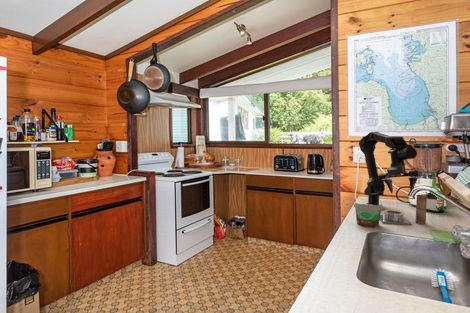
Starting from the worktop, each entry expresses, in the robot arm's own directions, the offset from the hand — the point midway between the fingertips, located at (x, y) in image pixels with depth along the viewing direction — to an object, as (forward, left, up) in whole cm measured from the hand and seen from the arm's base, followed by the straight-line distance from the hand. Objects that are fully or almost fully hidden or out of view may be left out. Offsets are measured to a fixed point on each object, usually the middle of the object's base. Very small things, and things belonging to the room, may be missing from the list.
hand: (401, 192), depth 151 cm
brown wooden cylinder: (+9, +6, -12) cm, 16 cm away
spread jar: (-18, +19, -12) cm, 29 cm away
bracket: (+7, -5, -12) cm, 15 cm away
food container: (+18, -18, -12) cm, 28 cm away
